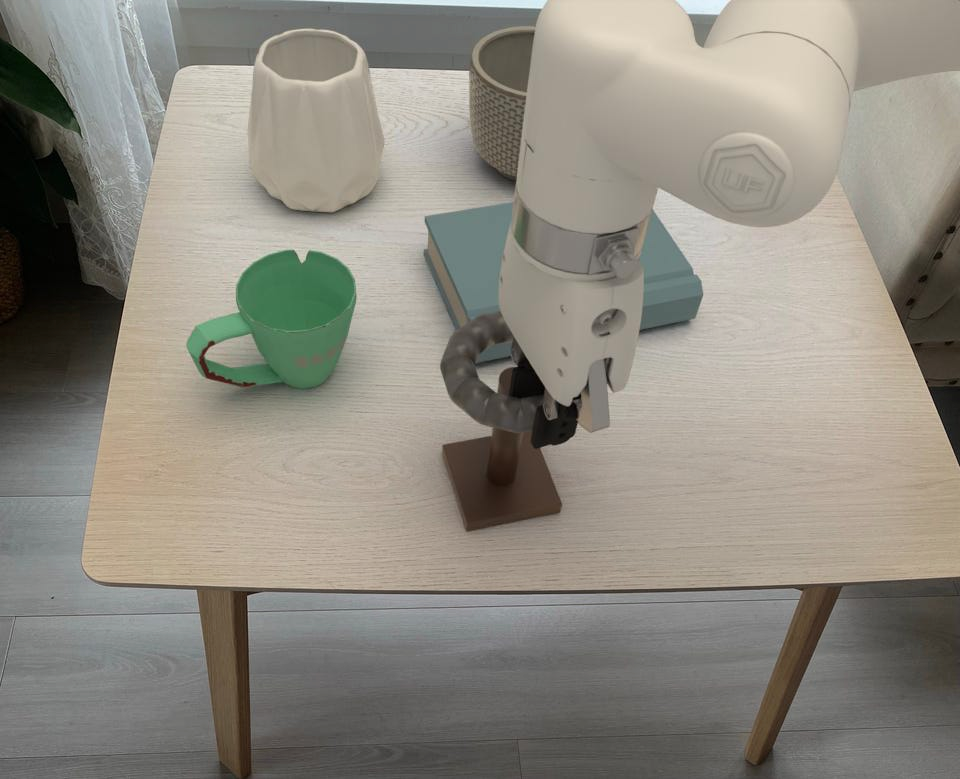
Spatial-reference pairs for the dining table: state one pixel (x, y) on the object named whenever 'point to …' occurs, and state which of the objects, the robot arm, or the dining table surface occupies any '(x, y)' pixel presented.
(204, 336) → the mug
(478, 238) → the book
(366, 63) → the vase
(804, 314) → the dining table surface
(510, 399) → the segmented grey ring
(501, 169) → the planter
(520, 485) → the post
